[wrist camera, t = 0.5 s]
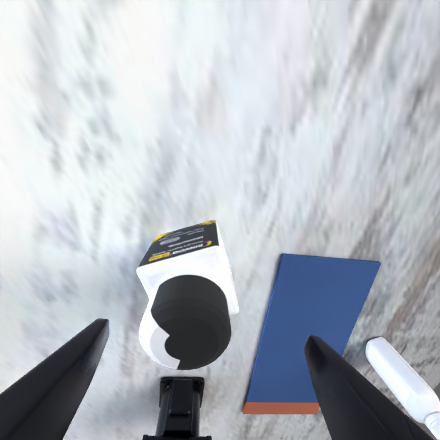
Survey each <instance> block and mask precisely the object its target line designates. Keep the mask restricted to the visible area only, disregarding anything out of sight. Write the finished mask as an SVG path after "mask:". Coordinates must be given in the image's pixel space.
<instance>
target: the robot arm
mask: <svg viewBox="0 0 440 440" xmlns="http://www.w3.org/2000/svg"><path fill="white" fill-rule="evenodd" d="M108 337H109V320H108V319H97V320H95V321H94V322H93V323H91V324H90V325H89V326H87V327H86V328H85V329H84V330H82V331H81V332H80V333H78V334H77V335H76V336H75V337H73V338H72V339H71V340H69V341H68V342H67V343H66V344H64V345H63V346H62V347H60V348H59V349H58V350H57V351H55V352H54V353H53V354H51V355H50V356H49V357H47V358H46V359H45V360H44V361H42V362H41V363H40V364H38V365H37V366H36V367H35V368H33V369H32V370H31V371H29V372H28V373H27V374H26V375H24V376H23V377H22V378H20V379H19V380H18V381H17V382H15V383H14V384H13V385H11V386H10V387H9V388H8V389H6V390H5V391H4V392H2V393H1V394H0V440H62V439H63V437H64V435H65V433H66V431H67V429H68V427H69V425H70V423H71V421H72V419H73V417H74V415H75V413H76V411H77V409H78V407H79V405H80V403H81V401H82V399H83V397H84V395H85V393H86V391H87V389H88V387H89V385H90V383H91V381H92V378H93V376H94V374H95V371H96V368H97V366H98V363H99V361H100V358H101V356H102V353H103V350H104V348H105V345H106V343H107V340H108ZM303 351H304V356H305V359H306V363H307V367H308V370H309V374H310V377H311V381H312V385H313V388H314V391H315V394H316V397H317V400H318V403H319V405H320V408H321V411H322V413H323V416H324V419H325V422H326V424H327V427H328V430H329V433H330V435H331V438H332V440H433V439H432V438H431V437H430V436H429V435H428V434H427V433H426V432H425V431H423V430H422V429H421V428H420V427H419V426H418V425H417V424H416V423H414V422H413V421H412V420H411V419H410V418H409V417H408V416H407V415H405V414H404V413H403V412H402V411H401V410H400V409H399V408H398V407H397V406H396V405H394V404H393V403H392V402H391V401H390V400H389V399H388V398H387V397H386V396H385V395H383V394H382V393H381V392H380V391H379V390H378V389H377V388H376V387H375V386H373V385H372V384H371V383H370V382H369V381H368V380H367V379H366V378H365V377H363V376H362V375H361V374H360V373H359V372H358V371H357V370H356V369H355V368H354V367H352V366H351V365H350V364H349V363H348V362H347V361H346V360H345V359H344V358H342V357H341V356H340V355H339V354H338V353H337V352H336V351H335V350H334V349H333V348H331V347H330V346H329V345H328V344H327V343H326V342H325V341H324V340H323V339H321V338H320V337H319V336H317V335H309V336H308V338H307V340H306V343H305V345H304V349H303ZM203 390H204V378H188V377H163V378H161V382H160V402H159V407H160V412H159V417H158V423H157V428H156V434H155V436H148V435H143V439H142V440H212V437H211V436H207V437H199V420H200V408H201V404H202V397H203Z"/></svg>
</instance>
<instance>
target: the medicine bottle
mask: <svg viewBox="0 0 440 440" xmlns="http://www.w3.org/2000/svg"><path fill="white" fill-rule="evenodd" d="M137 274H138V276H139V278H140V280H141V282H142V284H143V286H144V288H145V290H146V292H147V294H148V296H149V299H150V301H149V303H148V306H147V309H146V311H145V314H144V316H143V319H142V322H141V325H140V328H139V339H140V342H141V345H142V347H143V349H144V350H145V352H146V353H147V355H148V356H149V357H150V358H151V359H152V360H154V361H155V362H157V363H158V364H160V365H162V366H165V367H168V368H171V369H177V370H191V369H197V368H200V367H203V366H206V365H208V364H210V363H212V362H213V361H215V360H216V359H217V358H218V357H219V356H220V355H221V354H222V353H223V352H224V350H225V349H226V348H227V346H228V344H229V341H230V338H231V325H230V318H229V316H230V315H233V314H237V313H238V312H239V306H238V301H237V296H236V291H235V286H234V282H233V277H232V272H231V268H230V265H229V261H228V258H227V255H226V251H225V248H224V245H223V241H222V238H221V235H220V231H219V228H218V225H217V222H216V221H215V220H211V221H207V222H204V223H200V224H197V225H193V226H190V227H186V228H183V229H179V230H176V231H172V232H169V233H165V234H161V235H158V236H156V238H155V239H154V241H153V243H152V244H151V246H150V248H149V249H148V251H147V253H146V255H145V256H144V258H143V260H142V261H141V263H140V265H139V267H138V268H137Z"/></svg>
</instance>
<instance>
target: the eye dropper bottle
mask: <svg viewBox="0 0 440 440" xmlns="http://www.w3.org/2000/svg"><path fill="white" fill-rule="evenodd" d="M365 353H366V357H367V359H368V361H369V362H370V364H371V365H372V366H373V367H374V369H375V370H376V371H377V373H378V374H379V375H380V377H381V378H382V379H383V381H384V382H385V383H386V384H387V386H388V387H389V388H390V390H391V391H392V392H393V393H394V395H395V396H396V397H397V399H398V400H399V401H400V403H401V404H402V405H403V406H404V408H405V409H406V410H407V411H408V413H409V414H410V415H411V416H412V417H413V418H414V419H415V420H416V421H418V422H420V423H425V424H426V426H427V427H428V428H429V429H430V431H431V432H432V433H433V435H434V436H435V437H436V438H437V440H440V401H439V399H438V397H437V395H436V394H435V393H434V391H433V390H432V389H431V388H430V387H429V386H428V384H427V383H426V382H425V381H424V380H423V379H422V378H421V377H420V376H419V375H418V374H417V373H416V372H415V371H414V369H413V368H412V367H411V366H410V365H409V364H408V363H407V362H406V361H405V360H404V359H403V358H402V357H401V356H400V355H399V353H398V352H397V351H396V350H395V349H394V348H393V347H392V346H391V345H390V344H389V343H388V342H387V341H386V340H385V339H384V338H383V337H378V338H374V339H371V340H369V341H368V343H367V345H366V350H365Z"/></svg>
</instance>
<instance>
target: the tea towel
mask: <svg viewBox="0 0 440 440" xmlns="http://www.w3.org/2000/svg"><path fill="white" fill-rule="evenodd" d="M380 265H381V263H380V262H378V261H366V260H354V259H342V258H330V257H318V256H306V255H294V254H282V256H281V260H280V264H279V268H278V272H277V276H276V280H275V284H274V288H273V292H272V296H271V300H270V304H269V308H268V312H267V316H266V320H265V324H264V328H263V332H262V336H261V340H260V344H259V349H258V353H257V357H256V361H255V365H254V369H253V373H252V377H251V381H250V385H249V389H248V393H247V397H246V401H245V405H244V409H243V414H317V412H318V410H319V407H320V405H319V403H318V400H317V397H316V394H315V391H314V388H313V385H312V381H311V377H310V374H309V370H308V367H307V363H306V359H305V356H304V351H303V349H304V345H305V343H306V340H307V338H308V336H309V335H317V336H319V337H320V338H321V339H323V340H324V341H325V342H326V343H327V344H328V345H329V346H330V347H331V348H333V349H334V350H335V351H336V352H337V353H338V354H339V355H340V356H342V354H343V351H344V349H345V347H346V344H347V342H348V340H349V337H350V335H351V333H352V330H353V328H354V326H355V323H356V321H357V319H358V316H359V314H360V312H361V309H362V307H363V305H364V302H365V300H366V298H367V295H368V293H369V291H370V288H371V286H372V284H373V281H374V279H375V277H376V274H377V272H378V270H379V267H380Z"/></svg>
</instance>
